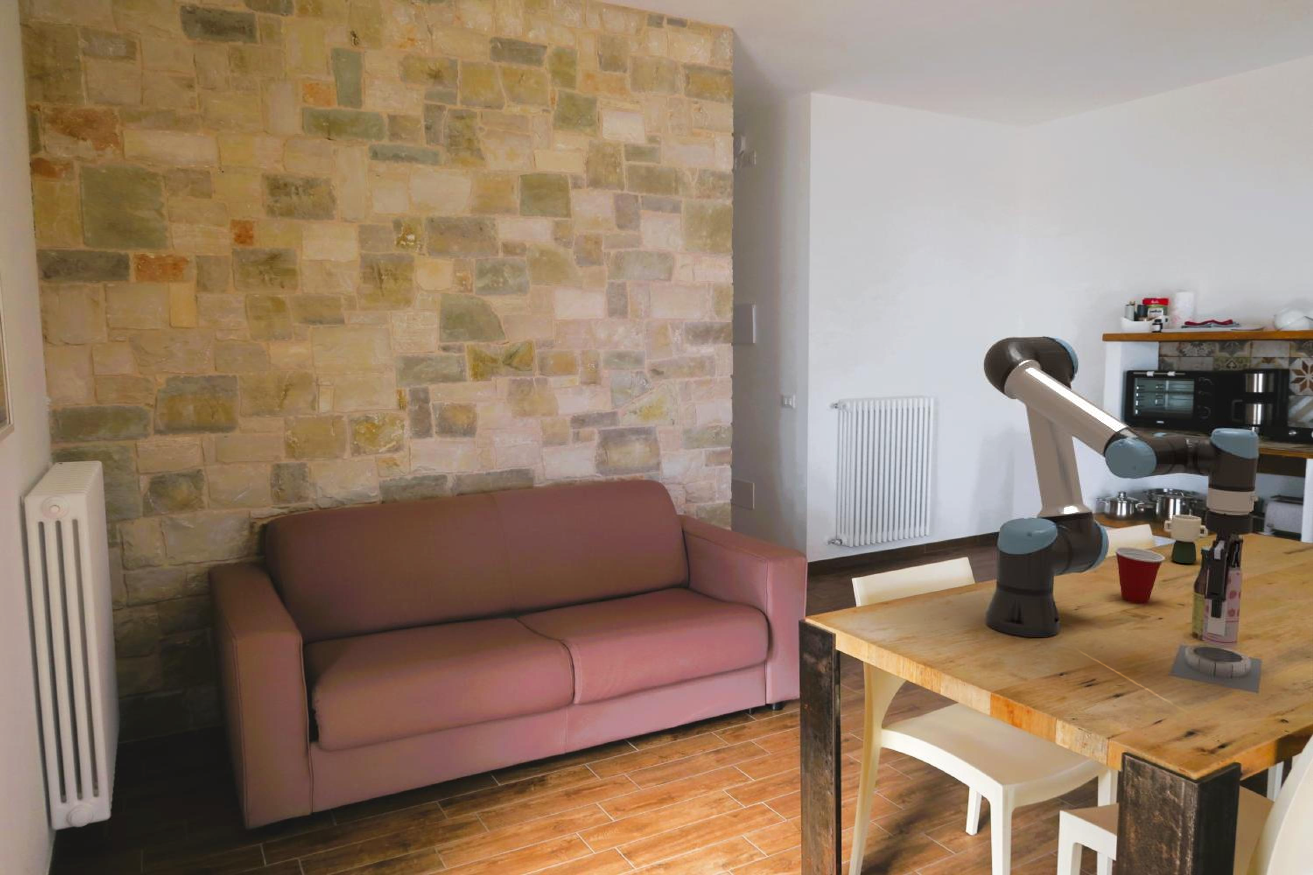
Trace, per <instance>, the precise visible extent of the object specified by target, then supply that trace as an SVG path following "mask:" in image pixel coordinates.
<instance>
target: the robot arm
mask: <svg viewBox="0 0 1313 875" xmlns="http://www.w3.org/2000/svg"><path fill="white" fill-rule="evenodd" d="M983 371H984V374H985V377H986V379H987V380H988V382H989V383H990V385H992V386H993V388H994V389H996V390H997V391H998V392H1000V393H1001V394H1003V395H1004V396H1005V397H1006V398H1008V399H1011V400H1017V401H1019V402H1020V403H1023V404H1024V406H1025V409H1026V415H1027V421H1028V427H1029V434H1030V439H1031V440H1030V441H1031V446H1032V452H1033V453H1032V454H1033V458H1034V465H1035V469H1036V470H1035V471H1036V477H1037V484H1038V488H1039V496H1040V503H1041V510H1040V511H1039V513H1038V514H1036V517H1027V518H1024V517H1021V518H1013V519H1011V520H1010V519H1009V520H1008V521H1006V522H1004V523H1003V524H1002V525H1001V526H1000V528H999V531H998V532H999V533H998V538H997V543H996V544H997V557H996V558H997V559H996V582H995V584H996V586H995V591H994V592H993V595H992V598H991V600H990V602H989V605H988V608H987V610H986V613H985V623H986V625H987V626H988V627H990V628H991V629H993V630H995V631H998V632H1001V633H1004V634H1008V635H1013V636H1018V637H1025V638H1046V637H1052V636H1056V635H1058V634H1059V633H1060V631H1061V619H1060V616H1059V612H1058V608H1057V605H1056V601H1055V597H1054V585H1055V577H1059V576H1064V575H1069V574H1076V573H1079V574H1081V573H1084V572H1086V571H1091V570H1092V569H1093V570H1094V569H1095V568H1097V567H1099V566H1100V564H1102V563H1103V561H1104V560H1106V557H1107V555H1108V552H1109V545H1110V543H1109V536H1108V533H1107V531H1106V529H1105V527H1104V526H1102V525H1101V523H1100V522H1098V521H1097V520H1096V519H1094V514H1093V510H1092V509H1091V508H1090V507H1088V506H1087V505H1086V504H1085V503H1084V500H1083V493H1082V487H1081V482H1080V476H1079V475H1080V474H1079V470H1078V464H1077V457H1076V453H1075V452H1076V451H1075V446H1074V440H1073V437H1074V438H1075V439H1077V440H1078V441H1080V442H1081V443H1083V444H1084V445H1086V446H1087V447H1089V448H1090V449H1091V450H1092V451H1095V452H1096V453H1097V454H1099V456H1102V457H1103V458H1104V459H1105V460H1104V461H1105V465H1106V466H1107V468H1108V469H1109V472H1111V474H1113V475H1114V476H1116V477H1118V478H1121V479H1131V480H1135V479H1136V480H1138V479H1143V478H1148V477H1156V476H1165V475H1174V474H1187V475H1197V476H1202V477H1208V480H1207V481H1208V485H1207V495H1206V505H1205V506H1206V507H1207V510H1206V511H1205V523H1204V526H1205V527H1206V529H1207V530H1208V532H1213V533H1216V536H1215V539H1214V540H1212V545H1211V546H1212V547H1211V548H1210V550H1209V551H1210V564H1209V576H1208V587H1207V594H1206V595H1205V599H1210V601H1209V614H1208V628H1207V632H1209V633H1214V634H1218V635H1223V636H1224V635H1225V622H1226V610H1227V601H1225V600H1226V592H1227V585H1228V577H1229V571H1230V567H1233V568H1235V567H1239V568H1240V569H1242V568H1241V566H1242V552H1243V545H1244V541H1245V540H1244V537H1240V536H1244V535H1245V536H1247V535H1250V534H1251V533H1252V532H1253V520H1254V515H1253V514H1252V513H1251V512H1253V511H1254V506H1255V502H1257V501H1258V500H1259V497H1258V496H1257V495H1255V493H1256V492H1255V491H1256V478H1257V470H1258V469H1257V467H1258V462H1259V461H1258V459H1259V457H1260V453H1259V435H1258V433H1256V431H1253V430H1249V429H1244V428H1228V427H1227V428H1224V427H1222V428H1215V429H1214V430H1212V433H1211V436H1210V437H1207V436H1206V437H1205V436H1197V435H1187V434H1180V433H1178V432H1158V433H1157V432H1156V433H1154V434H1153V436H1149V437H1148V436H1145V435H1143V434H1141V433H1140V432H1138V431H1137V430H1135V429H1133V428H1132V427H1131V426H1129V425H1127V424H1126V423H1124V422H1123V421H1121V420H1119V419H1118V418H1117V417H1115V416H1114V415H1112V414H1110V413H1108V412H1107V411H1106V410H1104V409H1102V408H1101V407H1099V406H1098V405H1097V404H1095V403H1093V402H1091V401H1090V400H1088V399H1087V398H1085V397H1083V395H1081V394H1079V393H1078V392H1076V391H1074V390H1073V388H1072V382H1073V381H1074V380H1075V378H1076V374H1077V373H1078V371H1079V359H1078V355H1077V353H1076V351H1075V349H1074V348H1073V347H1072V346H1071V344H1070V343H1068V342H1066V341H1065V340H1064V339H1061V338H1059V337H1058V338H1057V337H1050V336H1044V335H1042V336H1029V337H1028V336H1027V337H1026V336H1021V337H1018V336H1011V337H1006V338H1005V337H1004V338H1002V339H1000V340H997V341H996V342H995V343H994V344H992V346H990V348H988V350H987V352H986V354H985V357H984V360H983Z"/></svg>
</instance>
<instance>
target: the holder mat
mask: <svg viewBox="0 0 1313 875" xmlns="http://www.w3.org/2000/svg"><path fill="white" fill-rule="evenodd" d="M1188 647H1189V645H1186V644H1185V645H1183V644H1180V645H1179V647H1178V651H1177V653H1176V656H1175V658H1174V660H1173V664H1172V667H1171V669H1170V672H1169V676H1171V677H1176V678H1180V679H1185V680H1191V681H1196V682H1201V683H1205V684H1210V685H1211V684H1212V685H1215V686H1221V687H1224V688H1225V687H1226V688H1231V689H1237V690H1241V691H1246V692H1250V693H1251V692H1252V693H1256V694H1258V693H1259V689H1260V680H1261V670H1262V664H1263V659H1262V658H1257V657H1251V656H1248V657H1249V659H1250V660H1251V665H1250V674H1248V675H1247V676H1245V677H1237V678H1229V677H1220V676H1215V675H1214V676H1213V675H1210V674H1206V673H1202V672H1199V671H1196V670H1194V669H1192V668H1190V667H1188V666H1187V665H1186V663H1185V649H1186V648H1188ZM1214 661H1218V660H1214ZM1220 662H1222V661H1220Z"/></svg>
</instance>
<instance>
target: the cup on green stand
mask: <svg viewBox="0 0 1313 875" xmlns="http://www.w3.org/2000/svg"><path fill="white" fill-rule="evenodd" d="M1169 525H1171V528H1169ZM1163 526H1164V527H1163V530H1164V532H1165V533H1170V537H1171V539H1173V540H1175V541H1174V543H1173V546H1172V550H1171V555H1170V559H1171V560H1172V561H1174V562H1177V563H1183V564H1191V563H1195V562H1196V563H1197V546H1196V543H1195V542H1198V541H1199V540H1200V539H1201V538H1202V539H1203V538H1204V539H1205V538H1208V536H1209V530H1207V529H1206V527H1205V525H1202V518H1201V517H1199V516H1195V515H1189V514H1174V515H1172V516H1171V520H1165V521H1164V524H1163ZM1201 530H1203V533H1201Z"/></svg>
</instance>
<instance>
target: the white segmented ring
mask: <svg viewBox="0 0 1313 875" xmlns="http://www.w3.org/2000/svg"><path fill="white" fill-rule="evenodd" d="M1188 646H1189V645H1188ZM1249 657H1250V656H1248V654H1244V653H1242V652H1241V651H1237V650H1235V649H1232V648H1220V647H1215V646H1211V645H1208V644H1195V645H1193V644H1192V645H1190V646H1189V647H1188V648H1186V649H1185V663H1186V665H1187V666H1188V667H1190V668H1192V669H1194V670H1196V671H1199V672H1202V673H1206V674H1210V675H1213V676H1214V675H1215V676H1220V677H1229V678H1237V677H1245V676H1247V675H1248V674H1250V665H1251V660H1250V659H1249ZM1214 660H1218V661H1214ZM1220 661H1222V662H1220Z"/></svg>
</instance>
